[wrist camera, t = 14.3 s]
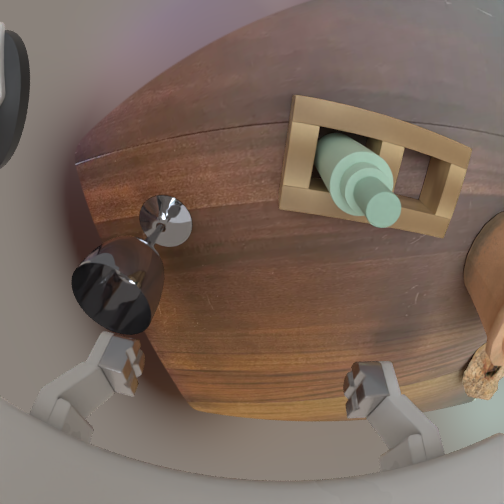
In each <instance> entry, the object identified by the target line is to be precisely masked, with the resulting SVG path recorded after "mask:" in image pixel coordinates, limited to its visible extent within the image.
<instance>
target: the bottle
mask: <svg viewBox="0 0 504 504" xmlns="http://www.w3.org/2000/svg"><path fill="white" fill-rule="evenodd" d="M314 165H315V167H316V169H317V170H318V172H319V174H320V176H321V178H322V180H323V182H324V184H325V185H326V187H327V189H328V191H329V193H330V195H331V197H332V199H333V201H334V202H335V204H336V205H337V206H338V207H339V208H340V209H341V210H342V211H344V212H346V213H348V214H350V215H354V216H365V217H366V218H367V220H368V221H369V222H370V224H372V225H373V226H375V227H378V228H385V227H389V226H391V225H392V224H394V223H395V222H396V221H397V219H398V218H399V216H400V213H401V203H400V200H399V198H398V197H397V196H396V195H395V194H394V193H393V192H392V190H393V175H392V172H391V169H390V167H389V165H388V164H387V163H386V161H385V160H384V159H382V158H381V157H380V156H378V155H377V154H375V153H374V152H372V151H371V150H369V149H368V148H366V147H365V146H363V145H361V144H360V143H358V142H357V141H355V140H353V139H352V138H350V137H349V136H347V135H345V134H342V133H330V134H327V135H325V136H323V137H322V138H320V139H319V140H318V142H317V147H316V152H315V158H314Z"/></svg>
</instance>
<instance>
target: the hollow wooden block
mask: <svg viewBox="0 0 504 504" xmlns="http://www.w3.org/2000/svg"><path fill="white" fill-rule="evenodd" d="M320 126H321V127H326V128H331V129H336V130H341V131H345V132H350V133H354V134H358V135H362V136H366V137H367V142H366V148H368V149H369V150H371V151H372V152H374V153H375V154H377V155H378V156H380V157H381V158H382V159H384V160H385V161H386V163H387V164H388V165H389V167H390V169H391V172H392V175H393V190H392V192H393V191H394V188H395V184H396V180H397V177H398V173H399V169H400V165H401V161H402V157H403V153H404V149H405V148H408V149H412V150H415V151H418V152H421V153H424V154H427V155H429V156H431V158H430V162H429V166H428V170H427V174H426V177H425V181H424V184H423V187H422V191H421V194H420V197H419V200H417V199H413V198H409V197H405V196H401V195H397V194H395V195H396V196H397V197H398V198H399V200H400V203H401V213H400V216H399V218H398V219H397V221H396V222H395V223H394V224H392V225H391V226H389V227H390V228H396V229H401V230H406V231H411V232H416V233H421V234H425V235H430V236H435V237H439V238H444V235H445V233H446V230H447V228H448V225H449V222H450V219H451V217H452V214H453V212H454V209H455V206H456V203H457V200H458V197H459V194H460V191H461V188H462V185H463V181H464V178H465V174H466V171H467V167H468V164H469V160H470V156H471V152H472V149H471V148H469V147H467V146H465V145H463V144H461V143H458V142H456V141H454V140H452V139H449V138H447V137H445V136H442V135H440V134H437V133H435V132H432V131H430V130H427V129H424V128H422V127H419V126H416V125H413V124H411V123H408V122H405V121H402V120H399V119H396V118H392V117H389V116H386V115H383V114H379V113H376V112H372V111H369V110H365V109H361V108H357V107H354V106H349V105H345V104H341V103H337V102H332V101H327V100H322V99H317V98H312V97H307V96H301V95H293V96H292V103H291V110H290V118H289V125H288V132H287V139H286V146H285V152H284V159H283V166H282V173H281V179H280V186H279V192H278V199H279V209H281V210H288V211H295V212H302V213H308V214H315V215H321V216H328V217H334V218H340V219H346V220H352V221H357V222H363V223H369V224H370V222H369V221H368V220H367V218H366V217H365V216H354V215H350V214H348V213H346V212H344V211H342V210H341V209H340V208H339V207H338V206H337V205H336V204H335V202H334V201H333V199H332V197H331V195H330V193H329V191H328V189H327V187H326V185H325V184H324V182H323V180H322V179H319V178H313V177H311V174H312V169H313V163H314V158H315V152H316V147H317V141H318V135H319V129H320Z"/></svg>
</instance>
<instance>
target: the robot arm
mask: <svg viewBox="0 0 504 504" xmlns="http://www.w3.org/2000/svg"><path fill="white" fill-rule="evenodd" d="M4 34H5V24H4V23H2V22H0V106H1V104H2V102H3V100H4V98H5V93H6V91H5V76H4ZM140 346H141V344H140V341H139V340H138V339H134V338H129V337H125V336H121V335H117V334H114V333H110V332H106V331H103V332H102V333H101V334H100V336H99V338H98V340H97V341H96V343H95V345H94V347H93V349H92V351H91V353H90V355H89V357H88V359H87V361H86V362H81V363H80V364H78V365H77V366H75V367H74V368H72V369H70V370H69V371H68V372H66V373H64V374H63V375H61V376H60V377H58V378H56V379H55V380H53V381H52V382H50V383H49V384H47V385H46V386H44V387H42V389H41V390H40V393H39V395H38V397H37V399H36V401H35V403H34V405H33V407H32V409H31V411H30V414H28V413H27V412H25V411H23V410H21V409H20V408H18V407H17V406H15V405H13V404H12V403H10V402H9V401H7V400H6V399H4V398H3V397H1V396H0V504H504V434H502V433H497V434H495V435H492V436H491V437H488V438H486V439H484V440H482V441H479V442H477V443H475V444H472V445H470V446H467V447H465V448H462V449H460V450H457V451H454V452H451V453H449V454H446V455H445V454H444V450H443V446H442V442H441V438H440V433H439V429H438V427H437V426H436V425H434V423H432V421H430V420H429V419H428V417H426V416H425V415H424V414H423V413H422V412H421V411H420V410H419V409H418V408H417V407H416V406H415V405H414V404H413V403H412V402H411V401H410V400H409V399H408V398H407V397H406V396H405V395H401V392H400V388H399V385H398V381H397V378H396V374H395V371H394V368H393V365H392V363H391V362H390V361H365V362H355V363H353V365H352V367H351V368H352V371H350V372H349V373H347V375H346V377H345V379H344V384H343V390H344V395H345V396H346V397H347V398H348V401H347V403H346V411H347V418H364V417H367V418H366V419H367V420H368V421H369V423H370V424H371V425H372V427H373V428H374V430H375V431H376V432H377V433H378V435H379V436H380V438H381V439H382V440H383V441H384V443H385V444H386V446H387V447H388V448H389V450H388V451H387V452H386V453H384V454H382V455H381V456H380V457H379V463H380V472H377V473H372V474H365V475H359V476H352V477H344V478H334V479H322V480H303V481H264V480H246V479H235V478H225V477H216V476H209V475H203V474H197V473H191V472H186V471H181V470H175V469H171V468H167V467H162V466H158V465H154V464H150V463H146V462H143V461H139V460H136V459H132V458H129V457H126V456H123V455H120V454H117V453H114V452H111V451H108V450H106V449H103V448H100V447H98V446H95V445H92V444H90V440H91V437H92V434H93V431H94V429H93V427H92V426H91V425H90V424H89V423H88V422H87V421H86V420H85V419H86V418H87V417H88V416H89V415H90V414H91V413H93V412H94V411H95V410H96V409H97V408H98V407H99V406H101V405H102V404H103V403H104V402H105V401H106V400H107V399H109V398H110V397H111V396H112V395H113V394H114V393H115V392H117V393H121V394H125V395H129V396H134V395H135V392H136V389H137V386H138V381H137V377H138V376H139V375H141V374H142V372H143V369H144V363H145V358H144V353H143V351H141V350H140Z"/></svg>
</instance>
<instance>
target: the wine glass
mask: <svg viewBox="0 0 504 504" xmlns="http://www.w3.org/2000/svg"><path fill="white" fill-rule="evenodd" d="M140 224H141V227H142V229H143V231H144V233H145V234H146V235H147V238H146V239H145V240H143V239H141V238H139V237H135V236H129V235H123V236H118V237H115V238H113V239H110V240H108V241H107V242H105V243H103V244H102V245H100V246H99V247H97V248H96V249H95V250H93V251H92V252H91V253H90V254H89V255H88V256H87V257H86V258H85V259H84V260H83V261H82V262H81V263H80V265H79V266H78V267H77V268H76V270H75V271H74V273H73V276H72V289H73V293H74V296H75V298H76V300H77V302H78V303H79V305H80V306H81V308H82V309H83V310H84V311H85V313H86V314H87V315H88V316H89V317H90V318H92V319H93V320H94V321H95V322H97V323H98V324H100V325H101V326H103V327H105V328H106V329H109V330H111V331H113V332H117V333H120V334H129V335H132V334H138V333H140V332H143V331H144V330H146V329H147V327H148V326H149V325H150V323H151V321H152V319H153V316H154V314H155V312H156V310H157V307H158V305H159V302H160V299H161V295H162V291H163V285H164V266H163V262H162V260H161V258H160V255H159V254H158V252H157V251H156V249H155V248H154V245H155V243H157V244H159V245H162V246H166V247H173V246H177V245H180V244H182V243H184V242H185V241H186V240H187V239H188V237H189V236H190V234H191V231H192V219H191V215H190V213H189V211H188V209H187V208H186V207H185V206H184V205H183V204H182V203H181V202H180V201H179V200H177V199H175V198H173V197H171V196H167V195H157V196H154V197H151V198H149V199H148V200H147V201H146V202H145V203H144V204H143V206H142V208H141V210H140Z"/></svg>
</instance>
